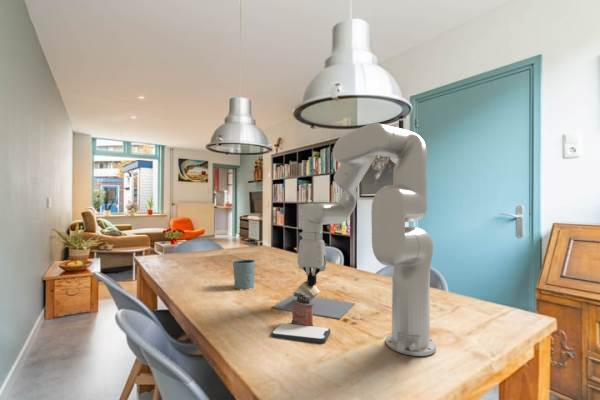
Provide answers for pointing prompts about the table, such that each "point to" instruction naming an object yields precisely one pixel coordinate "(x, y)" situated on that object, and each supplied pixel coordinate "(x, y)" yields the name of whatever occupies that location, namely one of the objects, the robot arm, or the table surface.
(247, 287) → the teal cup
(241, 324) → the table surface
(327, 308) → the rubber mat
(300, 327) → the phone case
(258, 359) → the table surface
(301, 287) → the maple cube
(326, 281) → the table surface
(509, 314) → the table surface
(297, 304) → the lighter
